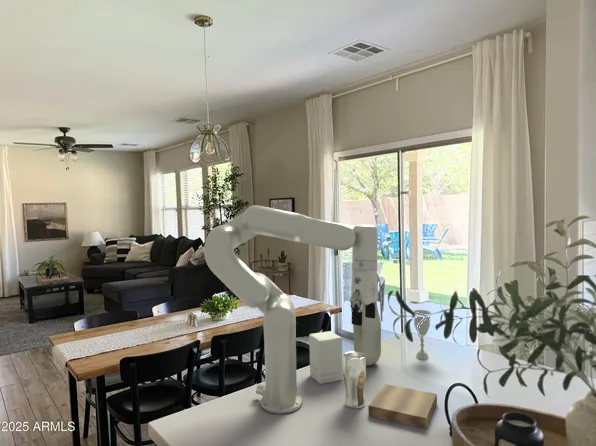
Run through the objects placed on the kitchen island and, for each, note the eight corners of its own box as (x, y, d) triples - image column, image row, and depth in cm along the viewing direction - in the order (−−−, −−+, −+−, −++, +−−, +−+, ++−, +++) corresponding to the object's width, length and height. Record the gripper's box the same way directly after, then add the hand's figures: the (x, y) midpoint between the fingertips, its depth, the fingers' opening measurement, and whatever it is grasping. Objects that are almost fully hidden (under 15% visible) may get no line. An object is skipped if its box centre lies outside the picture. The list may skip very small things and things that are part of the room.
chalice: (410, 354, 164) (409, 310, 164) (425, 353, 166) (425, 309, 165) (418, 361, 157) (418, 315, 157) (434, 360, 158) (434, 313, 158)
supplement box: (343, 380, 142) (342, 337, 141) (320, 384, 138) (319, 341, 138) (331, 370, 150) (331, 330, 150) (309, 375, 147) (308, 333, 146)
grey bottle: (358, 357, 162) (357, 287, 161) (384, 361, 158) (383, 289, 157) (350, 366, 153) (349, 292, 152) (377, 371, 149) (376, 294, 148)
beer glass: (366, 410, 120) (365, 359, 120) (342, 408, 121) (341, 358, 121) (367, 399, 127) (366, 351, 126) (344, 397, 128) (343, 350, 128)
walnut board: (368, 415, 117) (368, 405, 117) (384, 393, 131) (384, 383, 131) (426, 429, 109) (426, 418, 109) (436, 403, 123) (436, 393, 123)
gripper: (364, 269, 115) (363, 330, 116) (386, 263, 130) (385, 317, 130) (340, 267, 119) (339, 325, 120) (364, 261, 134) (364, 313, 134)
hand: (363, 321), depth 125 cm, fingers open, 9 cm apart
